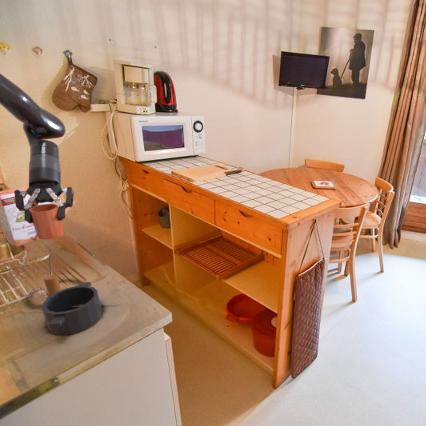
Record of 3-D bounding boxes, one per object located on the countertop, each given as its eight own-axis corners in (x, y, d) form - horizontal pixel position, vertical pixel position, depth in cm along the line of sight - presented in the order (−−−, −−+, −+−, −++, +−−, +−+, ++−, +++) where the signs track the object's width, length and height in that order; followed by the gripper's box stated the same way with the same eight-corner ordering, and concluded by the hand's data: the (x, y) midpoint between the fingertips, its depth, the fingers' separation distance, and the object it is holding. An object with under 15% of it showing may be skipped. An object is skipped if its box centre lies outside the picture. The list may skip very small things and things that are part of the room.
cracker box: (17, 250, 114) (-1, 195, 106) (8, 245, 117) (-11, 192, 109) (60, 235, 126) (47, 185, 118) (52, 231, 128) (38, 182, 120)
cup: (32, 239, 94) (24, 212, 91) (44, 230, 100) (37, 203, 96) (57, 239, 96) (50, 211, 92) (68, 229, 101) (61, 203, 98)
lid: (17, 312, 87) (9, 291, 84) (43, 285, 98) (37, 265, 95) (70, 309, 89) (64, 288, 87) (89, 283, 101) (85, 263, 98)
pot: (32, 346, 77) (24, 323, 74) (68, 301, 92) (62, 281, 90) (86, 341, 80) (80, 319, 77) (112, 298, 95) (108, 278, 92)
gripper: (9, 167, 93) (7, 219, 88) (70, 165, 99) (71, 213, 94) (20, 179, 99) (19, 228, 94) (76, 176, 106) (78, 222, 101)
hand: (45, 220), depth 94 cm, fingers closed on cup, 6 cm apart
